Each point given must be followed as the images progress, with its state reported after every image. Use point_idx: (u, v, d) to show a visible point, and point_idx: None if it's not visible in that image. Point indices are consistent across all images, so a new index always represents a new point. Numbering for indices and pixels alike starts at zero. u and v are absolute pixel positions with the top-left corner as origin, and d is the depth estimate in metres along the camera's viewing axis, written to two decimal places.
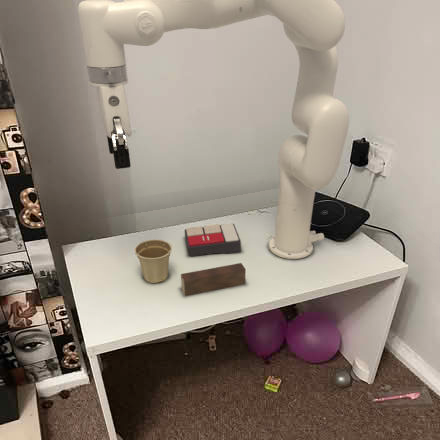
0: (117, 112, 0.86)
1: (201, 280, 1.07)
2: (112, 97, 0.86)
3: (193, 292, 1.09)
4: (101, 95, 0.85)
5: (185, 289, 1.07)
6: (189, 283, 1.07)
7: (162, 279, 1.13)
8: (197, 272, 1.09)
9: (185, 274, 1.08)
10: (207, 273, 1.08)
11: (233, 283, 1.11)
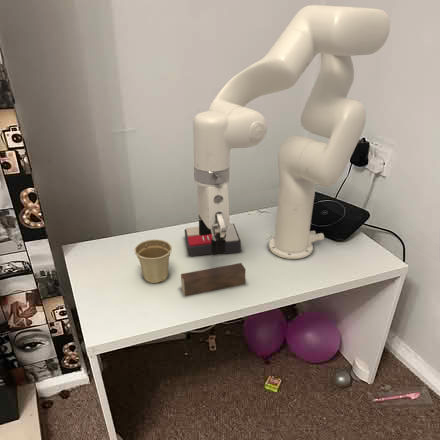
0: (220, 208, 0.93)
1: (201, 280, 1.07)
2: (216, 195, 0.93)
3: (193, 292, 1.09)
4: (207, 194, 0.92)
5: (185, 289, 1.07)
6: (189, 283, 1.07)
7: (162, 279, 1.13)
8: (197, 272, 1.09)
9: (185, 274, 1.08)
10: (207, 273, 1.08)
11: (233, 283, 1.11)
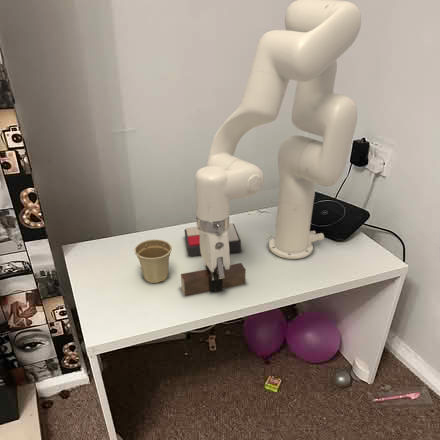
0: (221, 254, 1.00)
1: (201, 280, 1.07)
2: (217, 242, 1.00)
3: (193, 292, 1.09)
4: (208, 241, 0.99)
5: (185, 289, 1.07)
6: (189, 283, 1.07)
7: (162, 279, 1.13)
8: (197, 272, 1.09)
9: (185, 274, 1.08)
10: (207, 273, 1.08)
11: (233, 283, 1.11)
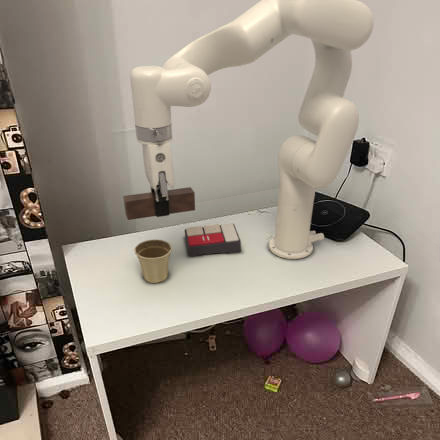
0: (163, 167, 0.92)
1: (145, 202, 0.99)
2: (158, 154, 0.91)
3: (137, 216, 1.00)
4: (148, 152, 0.90)
5: (127, 212, 0.99)
6: (132, 205, 0.98)
7: (162, 279, 1.13)
8: (141, 194, 1.00)
9: (128, 196, 0.99)
10: (152, 195, 0.99)
11: (181, 208, 1.02)
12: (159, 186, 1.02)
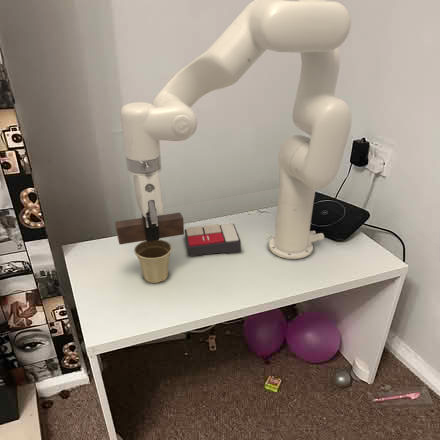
0: (152, 197, 0.97)
1: (136, 227, 1.03)
2: (148, 184, 0.96)
3: (128, 241, 1.05)
4: (138, 183, 0.95)
5: (119, 237, 1.03)
6: (123, 231, 1.03)
7: (162, 279, 1.13)
8: (132, 220, 1.05)
9: (119, 222, 1.04)
10: (142, 221, 1.04)
11: (171, 233, 1.07)
12: None
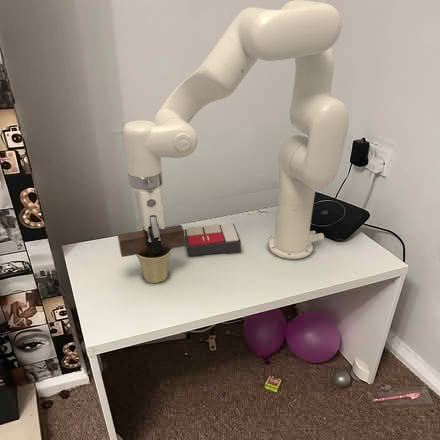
0: (154, 212, 0.99)
1: (138, 240, 1.05)
2: (150, 199, 0.98)
3: (130, 253, 1.07)
4: (140, 198, 0.98)
5: (121, 250, 1.06)
6: (125, 244, 1.05)
7: (162, 279, 1.13)
8: (134, 233, 1.07)
9: (121, 234, 1.06)
10: (144, 234, 1.06)
11: (172, 245, 1.09)
12: None
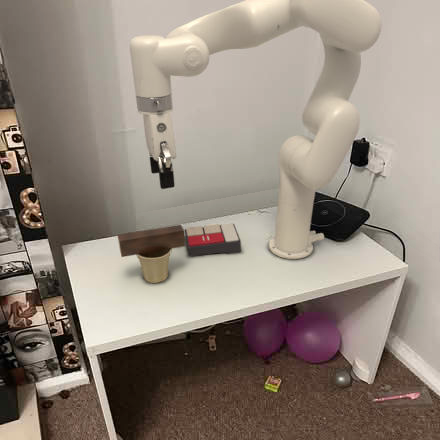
0: (164, 137, 0.93)
1: (138, 240, 1.05)
2: (159, 124, 0.92)
3: (130, 253, 1.07)
4: (150, 122, 0.91)
5: (121, 250, 1.06)
6: (125, 244, 1.05)
7: (162, 279, 1.13)
8: (134, 233, 1.07)
9: (121, 235, 1.06)
10: (144, 234, 1.06)
11: (172, 245, 1.09)
12: None
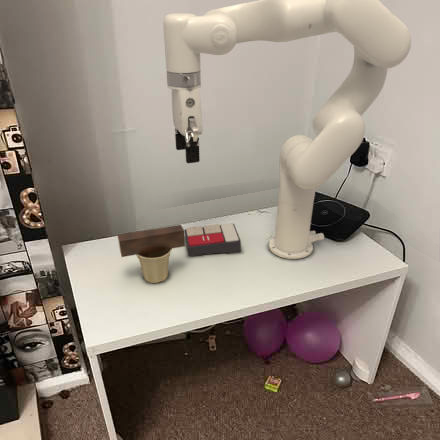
0: (192, 112, 0.97)
1: (138, 240, 1.05)
2: (188, 99, 0.96)
3: (130, 253, 1.07)
4: (179, 97, 0.96)
5: (121, 250, 1.06)
6: (125, 244, 1.05)
7: (162, 279, 1.13)
8: (134, 233, 1.07)
9: (121, 235, 1.06)
10: (144, 234, 1.06)
11: (172, 245, 1.09)
12: None
